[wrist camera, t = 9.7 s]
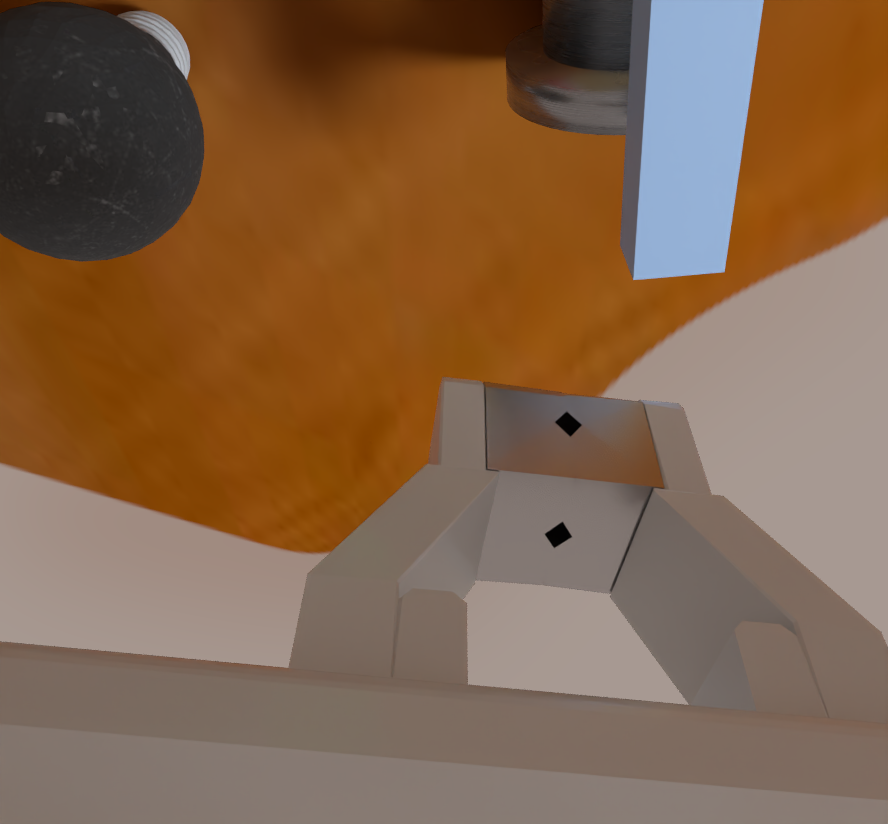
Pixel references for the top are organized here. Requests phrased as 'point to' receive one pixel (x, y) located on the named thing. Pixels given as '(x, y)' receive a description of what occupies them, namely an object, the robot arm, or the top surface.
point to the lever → (685, 132)
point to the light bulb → (94, 130)
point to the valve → (573, 67)
